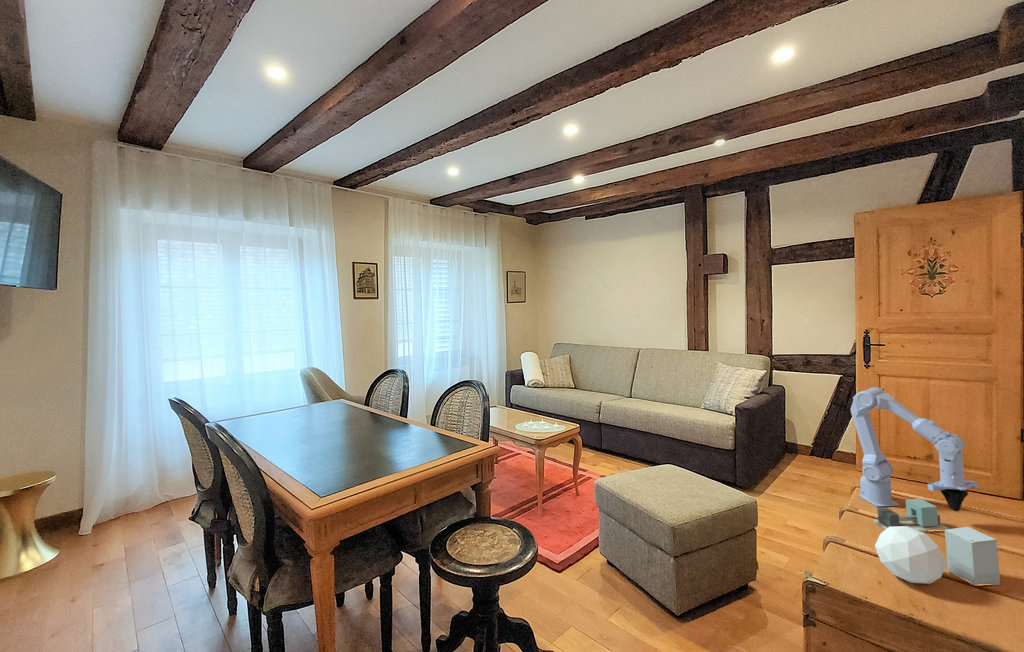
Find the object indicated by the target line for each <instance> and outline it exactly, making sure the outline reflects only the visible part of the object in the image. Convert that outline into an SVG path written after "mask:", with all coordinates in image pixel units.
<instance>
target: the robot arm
mask: <svg viewBox="0 0 1024 652" xmlns="http://www.w3.org/2000/svg"><path fill="white" fill-rule="evenodd" d="M852 399H853V400H852V403H851V406H850V413H851V416H852V420H853V423H854V426H855V427H854V428H855V429H856V433H857V437H858V440H859V443H860V446H861V450H862V452H863V458H862V460H861V463H862V469H861V471H862V473H861V474H862V476H861V477H860V479H859V484H860V486H859V487H860V494H858V497H860V498H862V499H863V500H865V501H866V502H868V503H869V504H872V505H873V506H875V507H877V508H885V507H894V506H895V507H897V506H900V505H899V503H897V502H895V501H894V500H893V495H892V483H891V481H892V480H891V477H890V476H891V475H892V474H893V472H894V469H893V466H892V464H891V463H890V462H889V461H888V459H887V456H886V455H885V454H883V453H882V450H881V447H880V445H879V441H878V438H877V435H876V430H875V428H874V425H873V423H872V419H871V415H870V412H872V411H873V409H879V410H887V411H889V412H890V413H892V414H894V415H896V416H898V417H899V418H901V419H902V420H904V421H906V422H907V423H909V424H910V425H911V427H912V429H913V431H914V432H916V433H917V434H919V435H920V436H922V437H923V439H926V440H927V441H929V442H930V443H931V444H933V446H934V448H935V449H936V451H938V465H939V476H940V480H938V481H935V482H932V483H927V489H928V490H929V491H930V492H935V493H936V492H937V491H939V492H940V493H941V494H942V495H943V497H944V499H945V500H946V503H947V505H948V508H949V509H950V510H951V511H954V512H959V511H960V510H961V506H962V504H963V502H964V501H965V498H966V497H967V496H968V495H969V491H967V490H968V489H976V490H977V489H979V483H978V482H977V481H974V480H965V470H964V469H965V468H964V467H965V466H964V457H963V451H962V450H964V448H965V447H966V446H965V445H966V444H965V441H964V439H963V438H961V437H960V435H958V434H954V433H951V432H950V431H949V430H948V431H946V430H945V429H943V428H942V427H940V426H939V425H938V424H936V422H935V420H933V419H930V420H929V419H928V418H922V417H919V416H917V414H915V413H914V412H912V411H911V410H909V409H908V408H907V407H906V406H904V405H903V404H901V403H900V402H899V401H897V399H895V398H894V397H893V396H892V395H891V394H889V393H888V392H885V391H884V390H883V389H882V388H880V387H870V388H868V389H865V390H861V391H859V392H857V393H856V394H855V395H853V397H852Z"/></svg>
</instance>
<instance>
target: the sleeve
mask: <svg viewBox="0 0 1024 652" xmlns="http://www.w3.org/2000/svg"><path fill="white" fill-rule="evenodd" d="M905 509H906V511H905V512H906V516H910V515H917V524H919V525H921V526H922V527H925V526H938V515H939V514H938V506H936V505H934V504H932V503H930V502H929V501H926V500H924V499H922V498H913V499H912V498H911V499H905Z"/></svg>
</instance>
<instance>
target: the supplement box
mask: <svg viewBox="0 0 1024 652" xmlns="http://www.w3.org/2000/svg"><path fill="white" fill-rule="evenodd" d="M944 538H945V539H944V540H945V548H946V562H947V564H946V565H947V572H948V571H950V572H952V573H954V574H956V575H957V576H959V577H961V578H963V579H966V580H968V581H970V582H971V583H972V584H973V585H974V586H977V584H992V586H998V585H1001V578H1000V577H1001V576H1000V575H1001V574H1000V566H999V565H1000V563H999V551H998V542H997V541H998V540H997V539H996V538H994V537H991V536H989V535H987V534H985V533H983V532H980V531H978V530H976V529H974V528H972V527H970V526H966V527H965V526H964V527H963V526H962V527H956V528H949V529H946V530H945V531H944ZM950 572H949V573H950ZM957 576H956V577H957ZM974 586H973V587H974Z"/></svg>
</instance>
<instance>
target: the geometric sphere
mask: <svg viewBox="0 0 1024 652" xmlns="http://www.w3.org/2000/svg"><path fill="white" fill-rule="evenodd" d="M874 548H875V551H876V553H877V555H878V558H879V560H880V562H881V564H882V565H883V566H884V567H885V568H886V569H887V570H888V572H890V573H891V574H892V575H893V576H896V577H898V578H900V579H902V580H905V581H906V582H908V583H910V584H927V585H928V584H929V585H930V584H933V583H935V582H937V580H939V579H940V578H942V576H943V573H944V571H945V568H946V566H947V565H948V564H947V560H946V559H945V557H944V555H943V553H942V551H941V549H940V547H939V545H938V544H937V543H936V542H935V541H934V540H933V539H932V538H931V537H930V536H929V535H928V534H927V533H922V532H920V531H918V530H915V529H913V528H910V527H908V526H895V527H888V528H887V529H886V530H885V529H883V531H882V532H880V534H879V536H878V538H877V540H876V542H875V544H874Z"/></svg>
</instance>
